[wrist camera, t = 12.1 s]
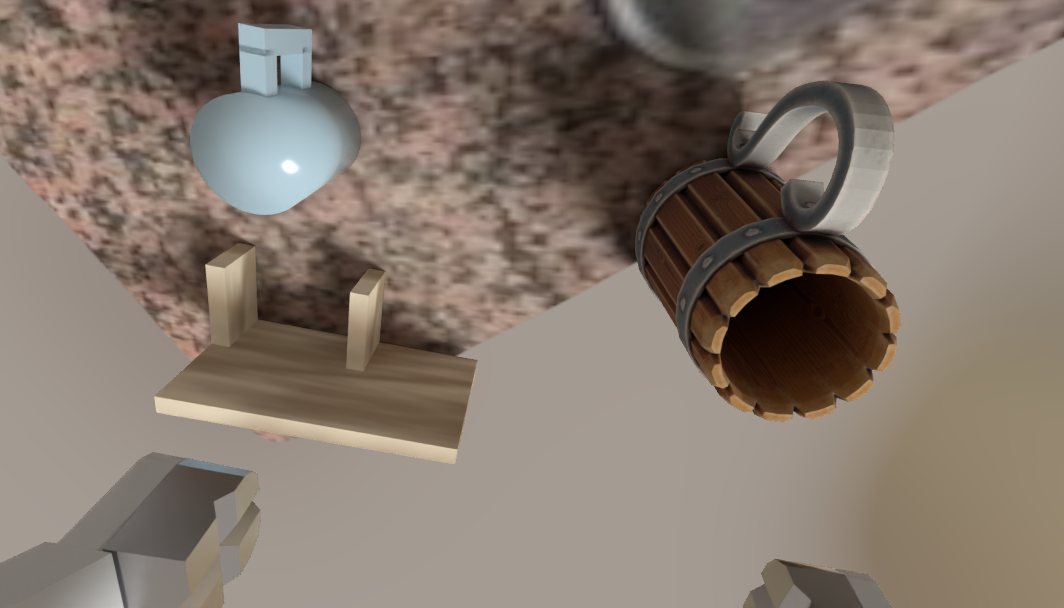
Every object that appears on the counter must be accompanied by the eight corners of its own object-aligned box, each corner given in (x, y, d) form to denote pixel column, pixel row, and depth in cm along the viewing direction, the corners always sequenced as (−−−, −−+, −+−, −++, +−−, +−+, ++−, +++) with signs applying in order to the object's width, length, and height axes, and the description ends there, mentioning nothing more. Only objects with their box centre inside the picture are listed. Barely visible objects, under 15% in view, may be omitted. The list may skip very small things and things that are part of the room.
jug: (263, 16, 31) (178, 11, 24) (365, 38, 32) (312, 39, 25) (267, 168, 35) (195, 202, 28) (358, 186, 36) (310, 224, 29)
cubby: (238, 242, 38) (141, 307, 29) (490, 291, 39) (472, 368, 30) (242, 330, 41) (156, 412, 32) (475, 372, 42) (454, 464, 33)
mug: (764, 310, 39) (876, 455, 26) (619, 294, 39) (656, 432, 25) (842, 78, 32) (1053, 109, 18) (666, 57, 32) (750, 75, 18)
